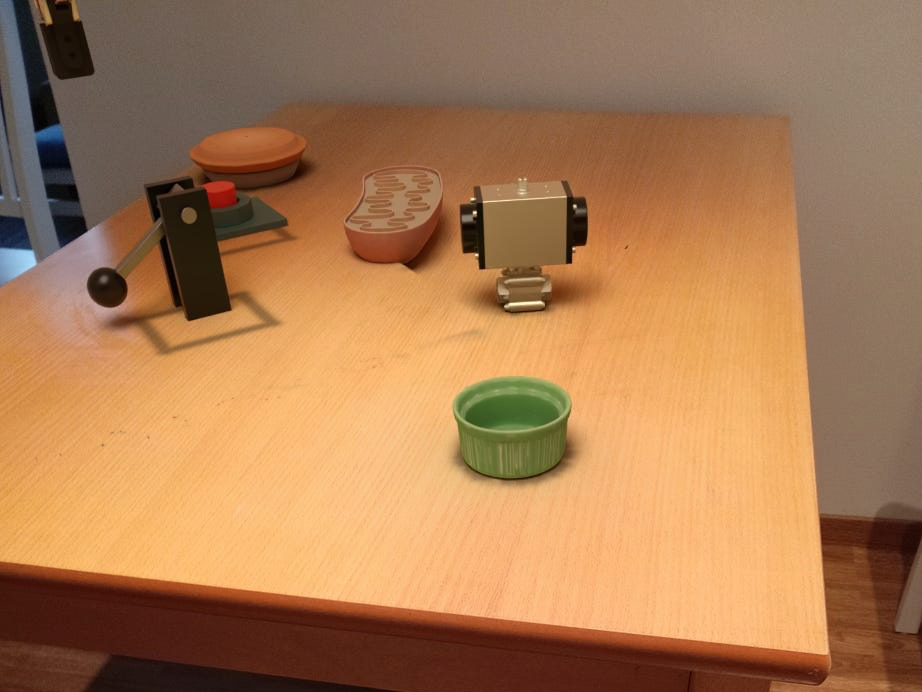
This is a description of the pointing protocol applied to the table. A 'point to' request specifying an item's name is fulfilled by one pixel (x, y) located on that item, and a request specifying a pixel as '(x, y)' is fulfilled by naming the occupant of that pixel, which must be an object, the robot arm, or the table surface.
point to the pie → (250, 156)
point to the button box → (245, 218)
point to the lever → (123, 268)
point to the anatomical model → (395, 213)
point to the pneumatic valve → (523, 236)
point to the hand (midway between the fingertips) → (74, 75)
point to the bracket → (189, 248)
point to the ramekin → (512, 425)
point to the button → (221, 194)
